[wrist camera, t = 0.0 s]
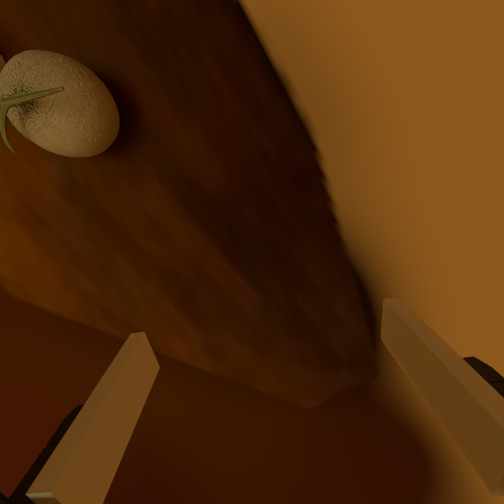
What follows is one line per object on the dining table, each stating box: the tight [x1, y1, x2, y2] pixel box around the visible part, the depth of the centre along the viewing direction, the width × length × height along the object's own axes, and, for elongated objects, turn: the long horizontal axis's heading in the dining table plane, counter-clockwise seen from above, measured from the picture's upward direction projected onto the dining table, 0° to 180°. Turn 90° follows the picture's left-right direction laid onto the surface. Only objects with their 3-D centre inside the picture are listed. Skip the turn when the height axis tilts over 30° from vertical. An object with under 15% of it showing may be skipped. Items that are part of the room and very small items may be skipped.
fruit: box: [0, 50, 120, 157], centre depth 26 cm, size 10×12×15 cm
